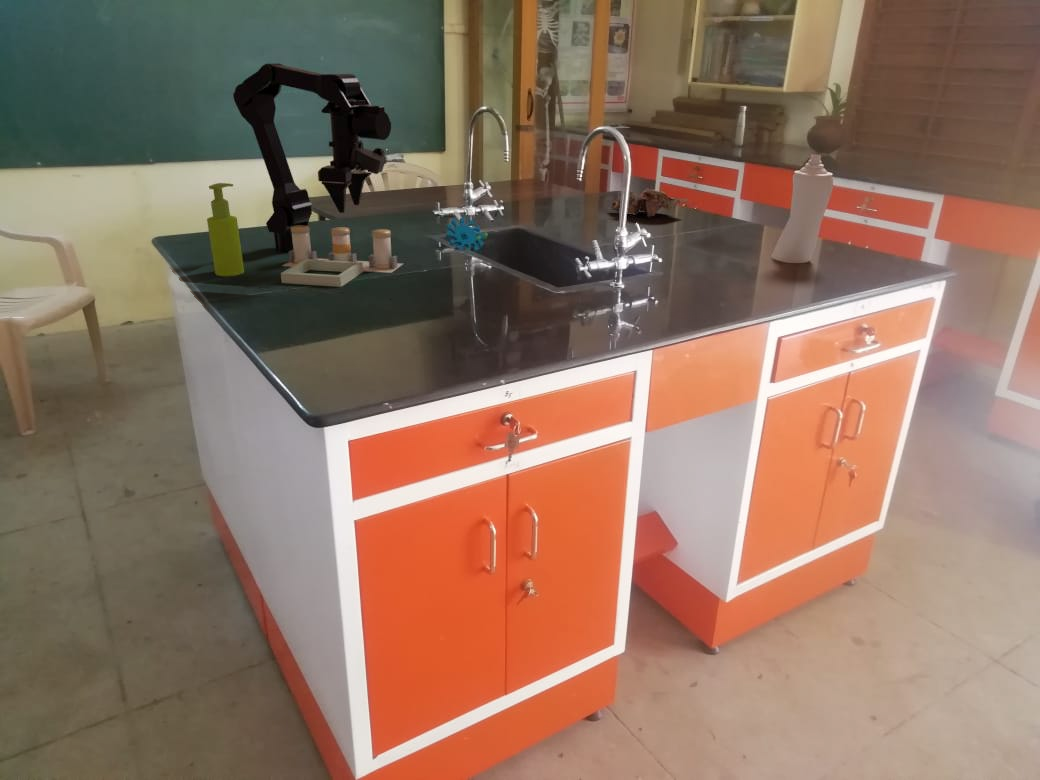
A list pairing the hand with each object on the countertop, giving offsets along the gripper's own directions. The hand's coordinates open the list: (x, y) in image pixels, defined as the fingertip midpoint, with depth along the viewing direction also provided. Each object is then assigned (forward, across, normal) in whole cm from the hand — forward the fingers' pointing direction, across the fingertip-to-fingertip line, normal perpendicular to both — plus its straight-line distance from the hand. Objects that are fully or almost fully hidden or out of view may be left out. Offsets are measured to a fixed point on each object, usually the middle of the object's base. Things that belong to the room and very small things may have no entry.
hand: (349, 208), depth 173 cm
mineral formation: (+12, +74, -67) cm, 100 cm away
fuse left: (+12, -6, +9) cm, 16 cm away
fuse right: (+11, -6, -10) cm, 16 cm away
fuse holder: (+13, -6, 0) cm, 14 cm away
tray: (+13, -17, 0) cm, 21 cm away
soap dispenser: (+13, -17, +21) cm, 30 cm away
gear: (+13, +19, -23) cm, 32 cm away
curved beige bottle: (+11, +25, -103) cm, 107 cm away
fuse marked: (+11, -6, 0) cm, 13 cm away
